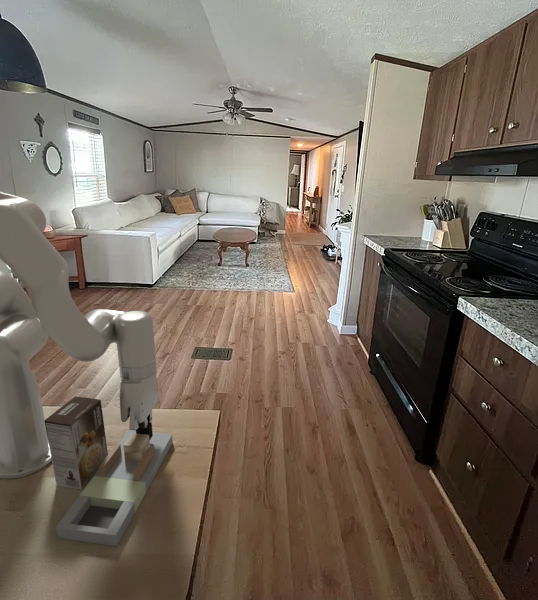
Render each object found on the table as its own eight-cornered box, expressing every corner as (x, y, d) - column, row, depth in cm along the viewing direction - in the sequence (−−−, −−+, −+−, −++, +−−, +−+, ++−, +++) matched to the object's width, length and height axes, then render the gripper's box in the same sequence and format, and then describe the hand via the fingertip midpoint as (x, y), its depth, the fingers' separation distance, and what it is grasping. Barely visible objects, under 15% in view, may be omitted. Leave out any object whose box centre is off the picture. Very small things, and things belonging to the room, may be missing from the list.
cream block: (124, 460, 81) (123, 445, 80) (133, 447, 85) (131, 433, 84) (142, 462, 81) (141, 446, 80) (150, 449, 85) (148, 434, 83)
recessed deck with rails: (57, 537, 66) (53, 516, 65) (129, 438, 92) (127, 421, 90) (116, 546, 65) (114, 524, 63) (172, 443, 91) (171, 425, 89)
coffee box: (84, 455, 86) (75, 394, 81) (109, 460, 84) (102, 398, 79) (54, 485, 77) (43, 419, 72) (82, 491, 76) (72, 424, 71)
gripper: (136, 351, 88) (142, 417, 94) (103, 384, 74) (113, 459, 80) (167, 353, 87) (171, 420, 93) (140, 387, 73) (147, 463, 79)
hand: (144, 438), depth 86 cm, fingers closed
